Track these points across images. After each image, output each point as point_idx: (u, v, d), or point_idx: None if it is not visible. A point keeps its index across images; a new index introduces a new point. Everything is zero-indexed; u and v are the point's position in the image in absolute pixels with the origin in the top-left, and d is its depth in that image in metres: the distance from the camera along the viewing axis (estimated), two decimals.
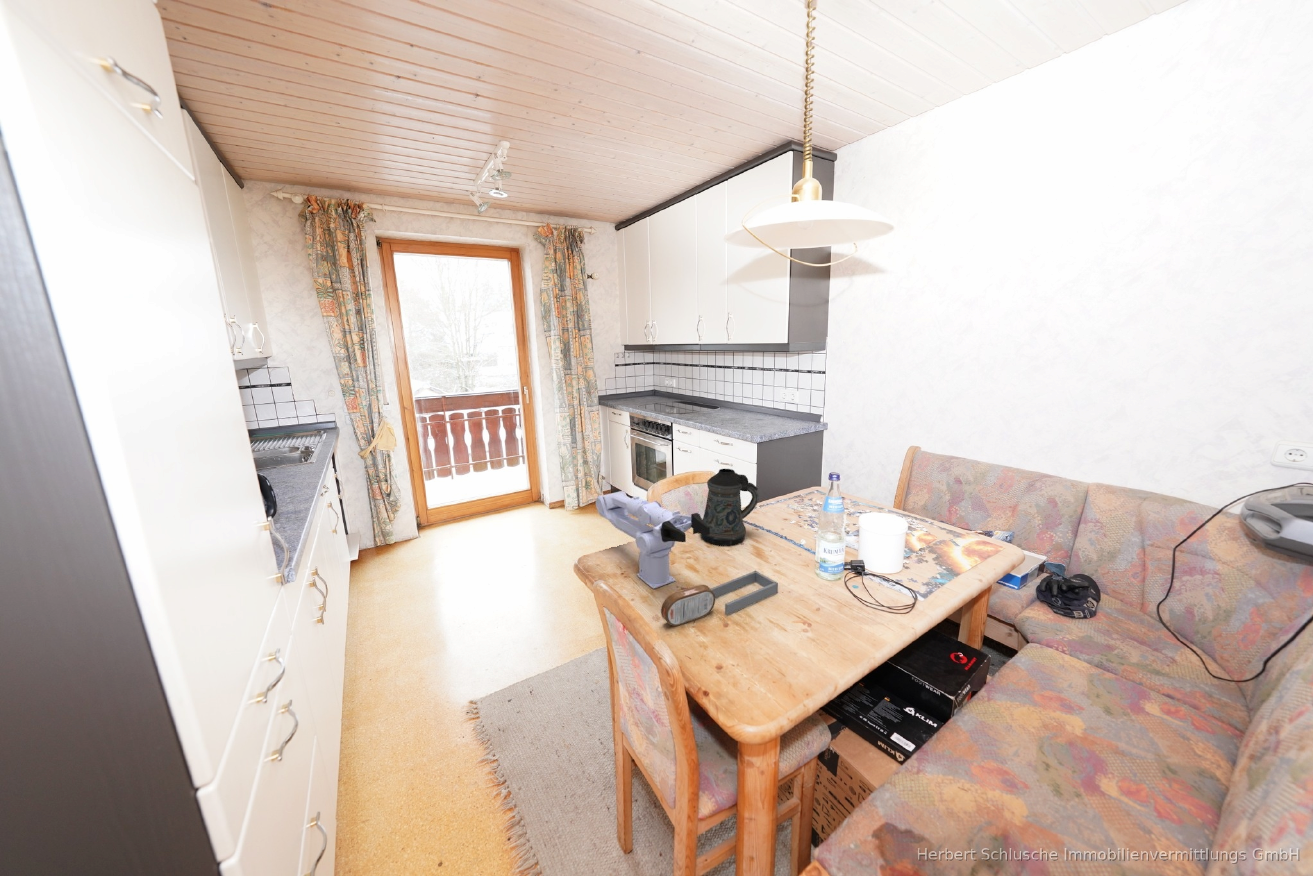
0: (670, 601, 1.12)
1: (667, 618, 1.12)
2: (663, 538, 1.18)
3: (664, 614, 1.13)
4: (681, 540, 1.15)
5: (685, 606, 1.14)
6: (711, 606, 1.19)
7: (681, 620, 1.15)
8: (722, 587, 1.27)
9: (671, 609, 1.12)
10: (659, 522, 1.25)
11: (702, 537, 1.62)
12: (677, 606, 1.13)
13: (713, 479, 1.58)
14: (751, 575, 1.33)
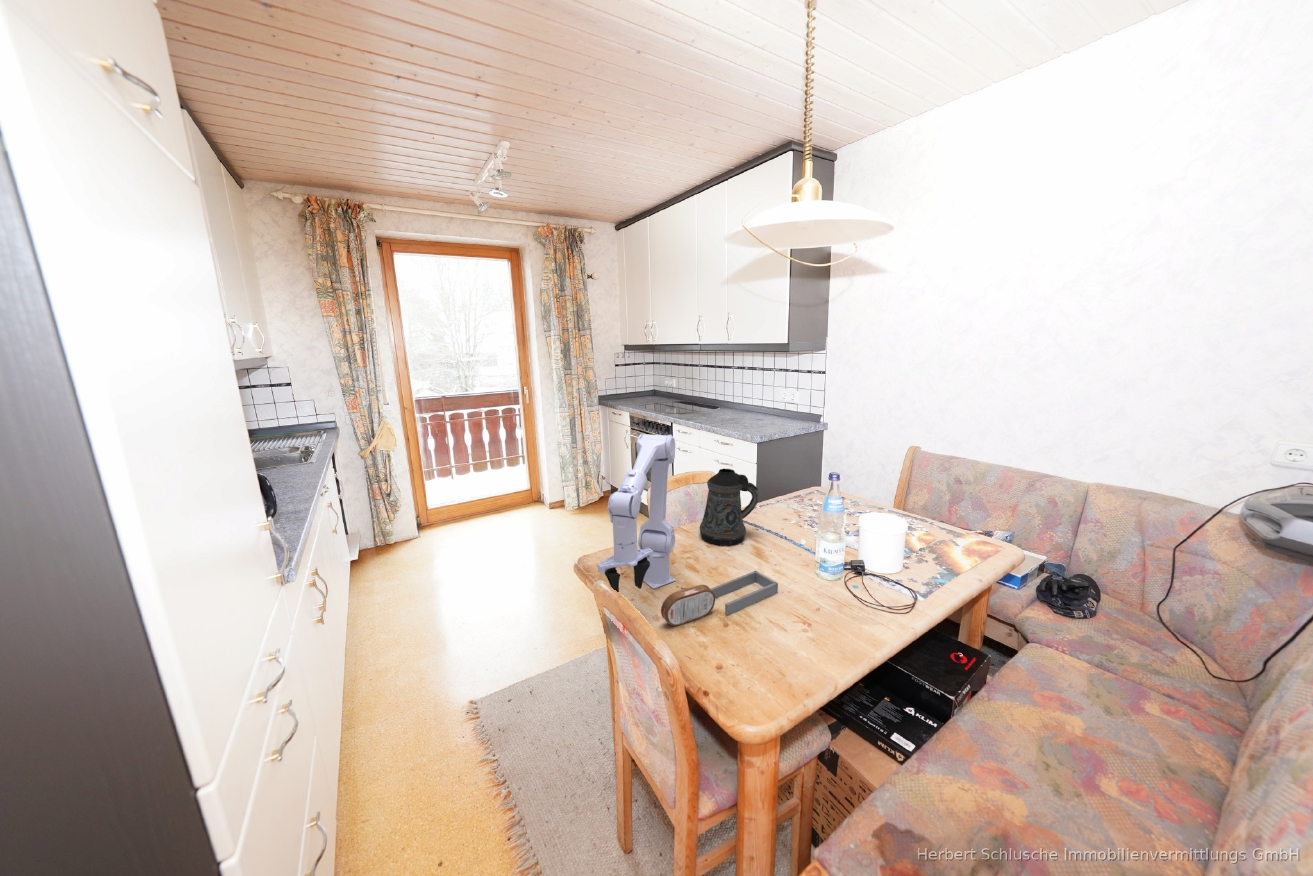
0: (670, 601, 1.12)
1: (667, 618, 1.12)
2: None
3: (664, 614, 1.13)
4: None
5: (685, 606, 1.14)
6: (711, 606, 1.19)
7: (681, 620, 1.15)
8: (722, 587, 1.27)
9: (671, 609, 1.12)
10: (615, 545, 1.09)
11: (702, 537, 1.62)
12: (677, 606, 1.13)
13: (713, 479, 1.58)
14: (751, 575, 1.33)
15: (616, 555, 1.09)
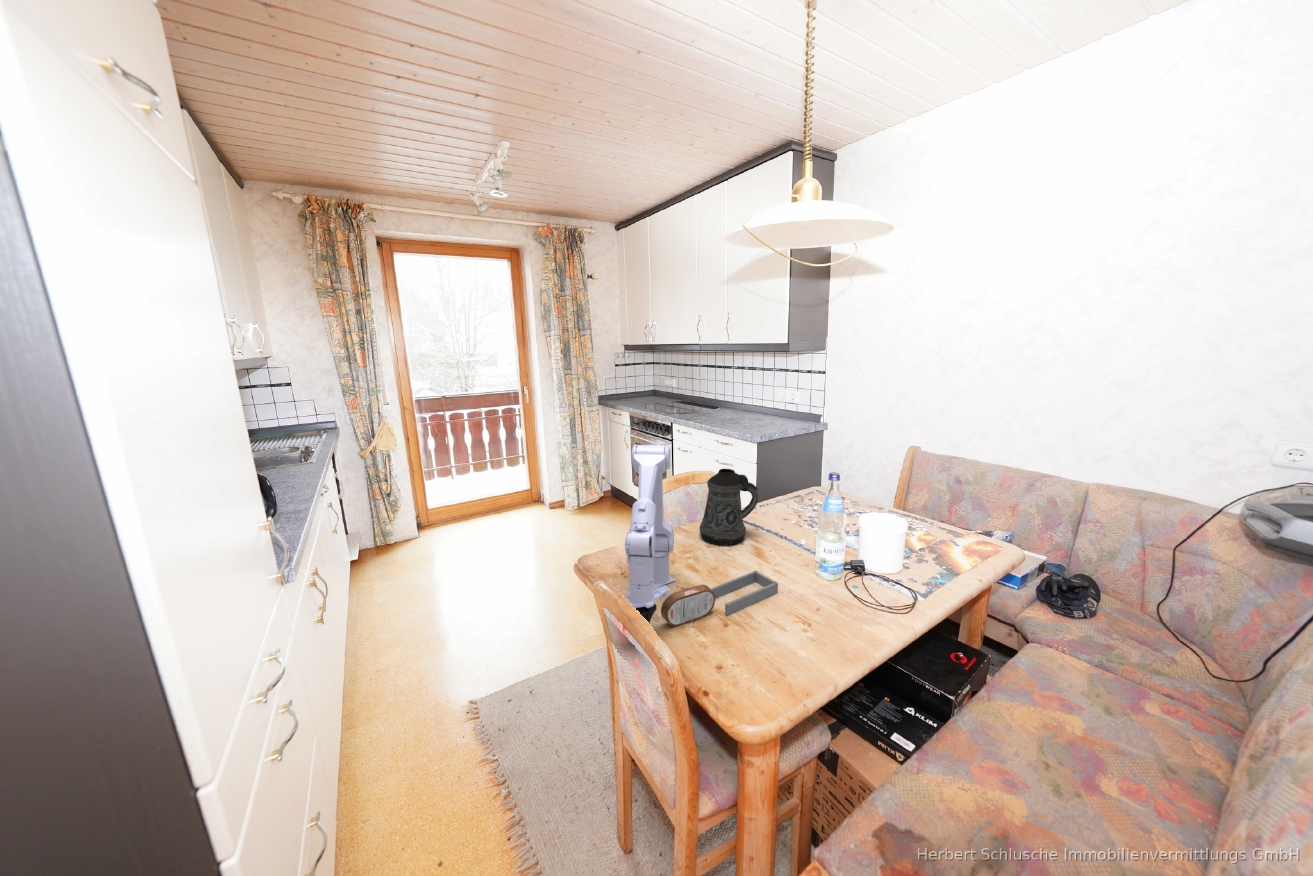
0: (670, 601, 1.12)
1: (667, 618, 1.12)
2: None
3: (664, 614, 1.13)
4: None
5: (684, 606, 1.14)
6: (711, 606, 1.19)
7: (681, 620, 1.15)
8: (722, 587, 1.27)
9: (671, 609, 1.12)
10: (631, 585, 1.05)
11: (702, 537, 1.62)
12: (677, 606, 1.13)
13: (713, 479, 1.58)
14: (751, 575, 1.33)
15: (632, 595, 1.05)
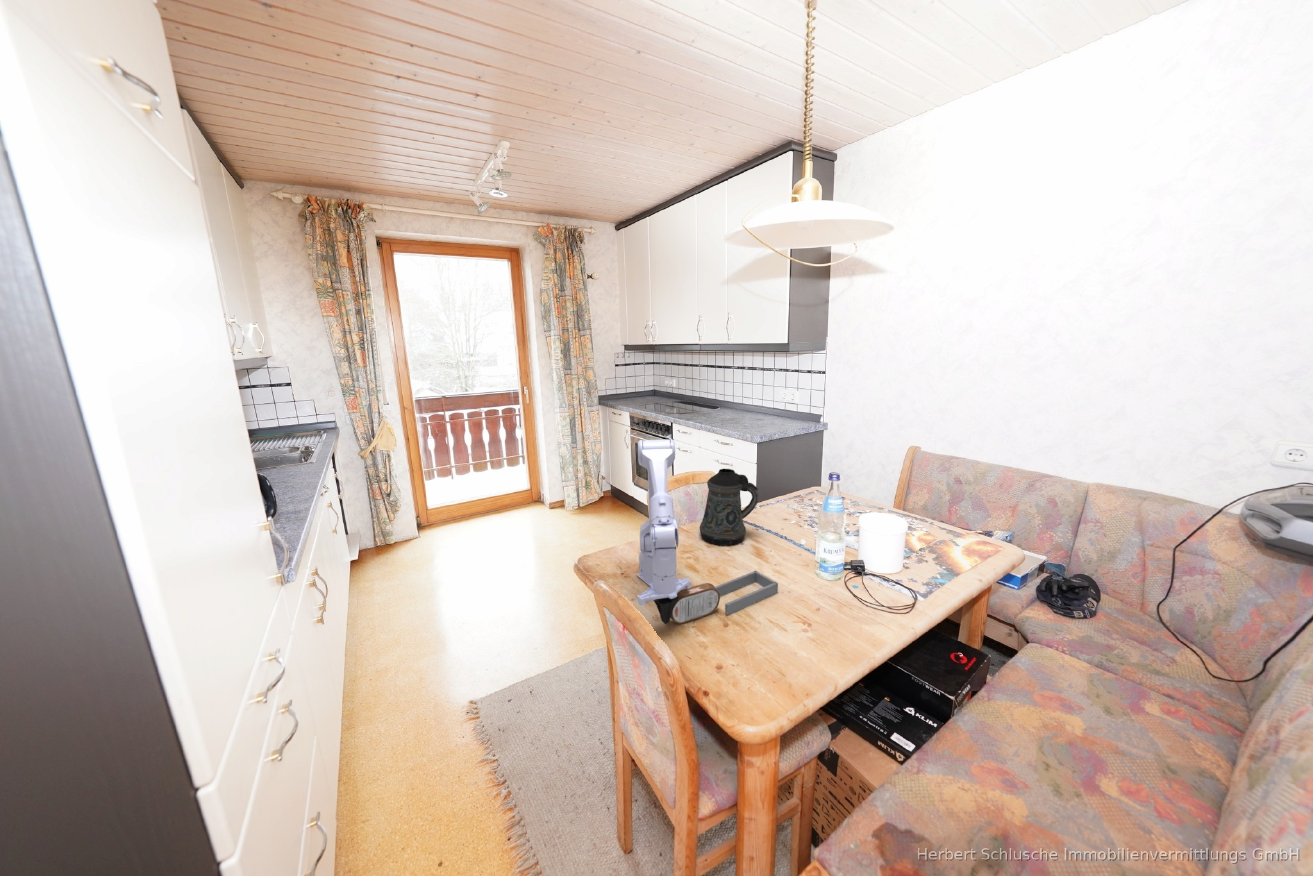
0: None
1: (672, 616, 1.13)
2: None
3: None
4: (661, 618, 1.13)
5: (689, 604, 1.15)
6: (716, 604, 1.19)
7: (686, 618, 1.16)
8: (722, 587, 1.27)
9: (676, 607, 1.13)
10: (655, 577, 1.08)
11: (702, 537, 1.62)
12: (682, 604, 1.14)
13: (713, 479, 1.58)
14: (751, 575, 1.33)
15: (656, 587, 1.09)
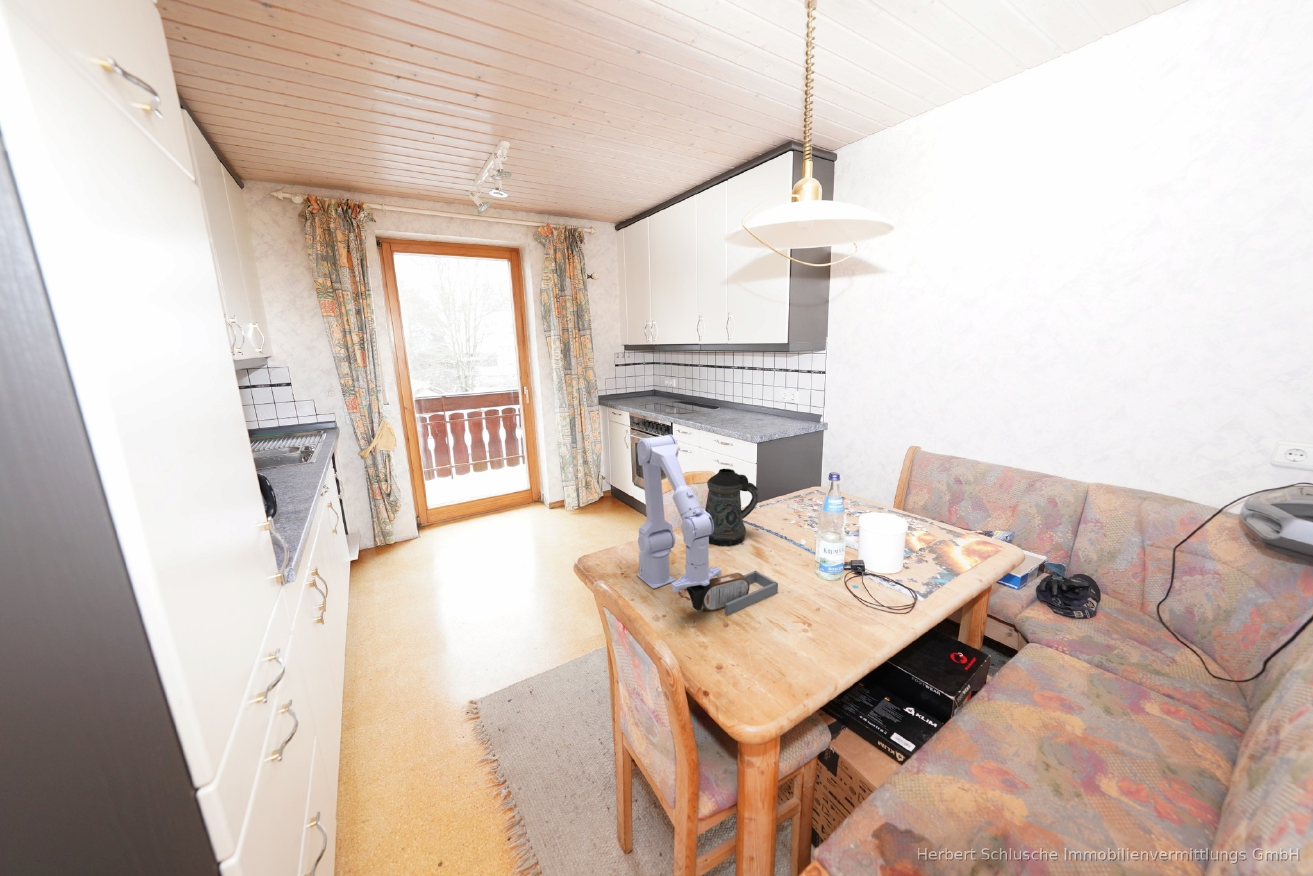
0: None
1: (703, 603, 1.18)
2: None
3: None
4: (693, 605, 1.18)
5: (720, 592, 1.20)
6: (745, 594, 1.24)
7: (716, 605, 1.21)
8: None
9: (707, 595, 1.18)
10: (688, 565, 1.13)
11: None
12: (713, 592, 1.19)
13: (713, 479, 1.58)
14: (751, 575, 1.33)
15: (689, 575, 1.14)
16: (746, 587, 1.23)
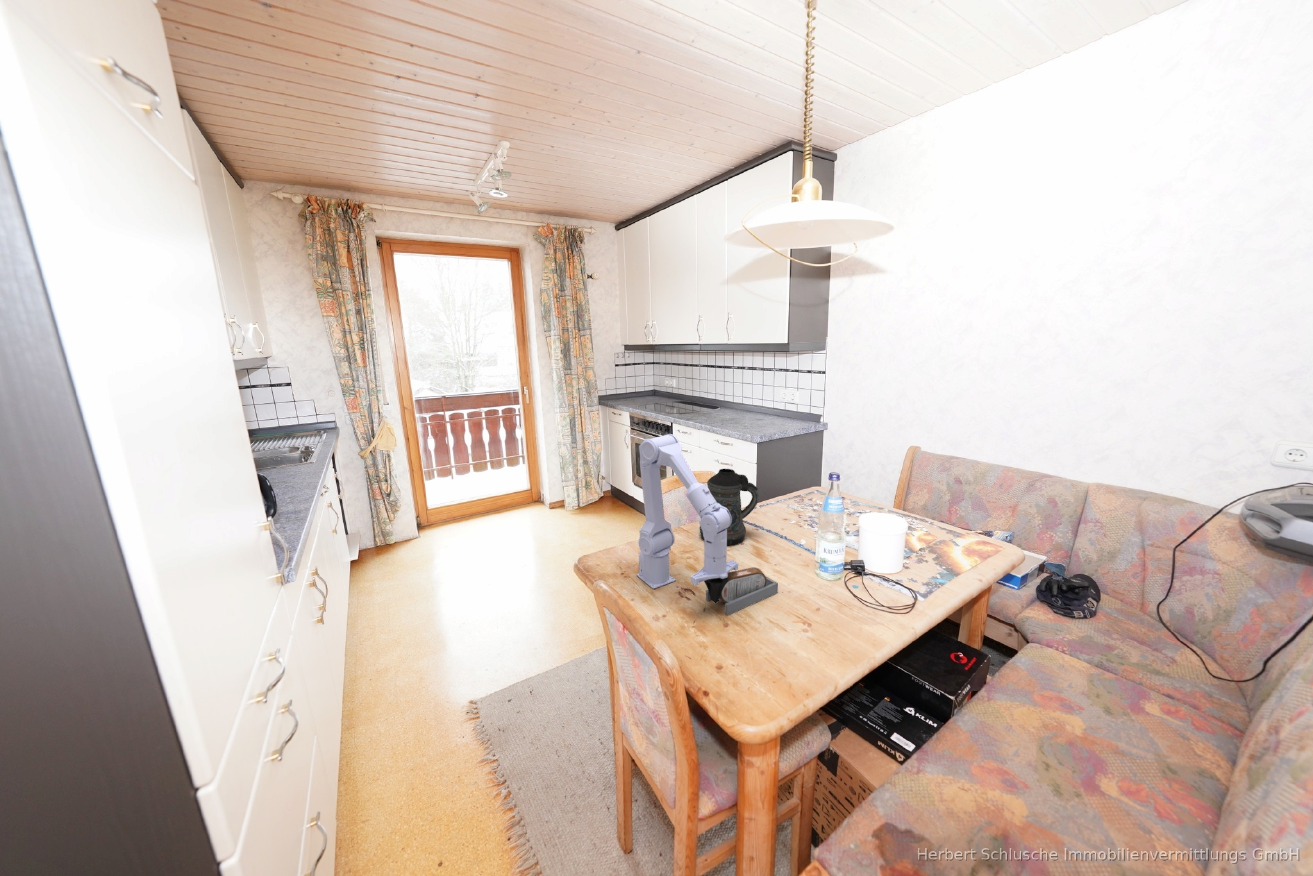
0: None
1: (721, 595, 1.22)
2: None
3: None
4: (710, 597, 1.21)
5: (737, 586, 1.23)
6: None
7: (734, 598, 1.24)
8: None
9: (725, 588, 1.21)
10: (707, 559, 1.17)
11: (702, 537, 1.62)
12: (730, 585, 1.22)
13: (713, 479, 1.58)
14: None
15: (708, 568, 1.17)
16: (763, 581, 1.26)
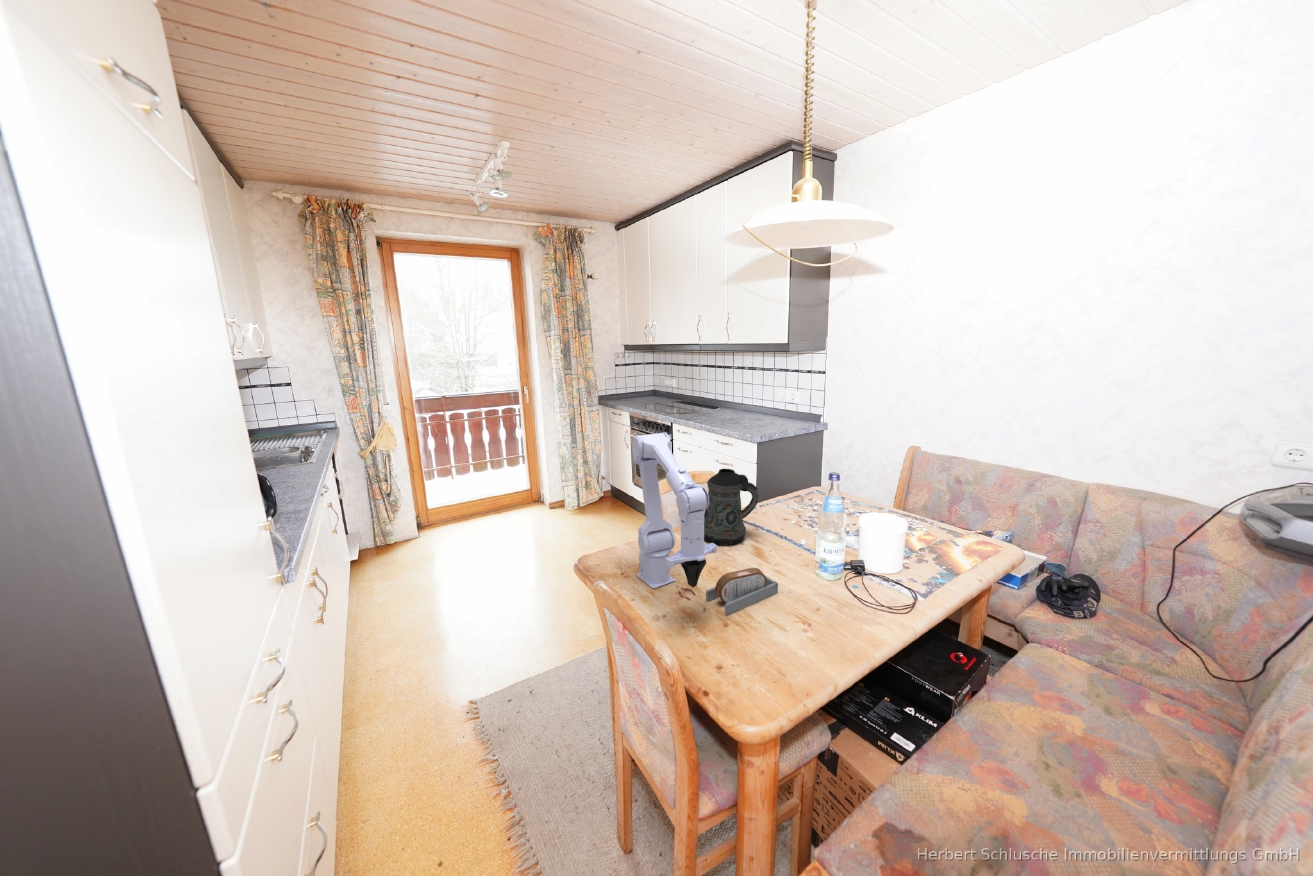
0: (724, 580, 1.21)
1: (721, 596, 1.22)
2: (680, 562, 1.14)
3: (718, 592, 1.22)
4: (688, 581, 1.16)
5: (737, 586, 1.23)
6: None
7: (734, 599, 1.24)
8: None
9: (725, 588, 1.22)
10: (684, 540, 1.11)
11: None
12: (730, 586, 1.22)
13: (713, 479, 1.58)
14: None
15: (684, 550, 1.11)
16: (763, 582, 1.26)
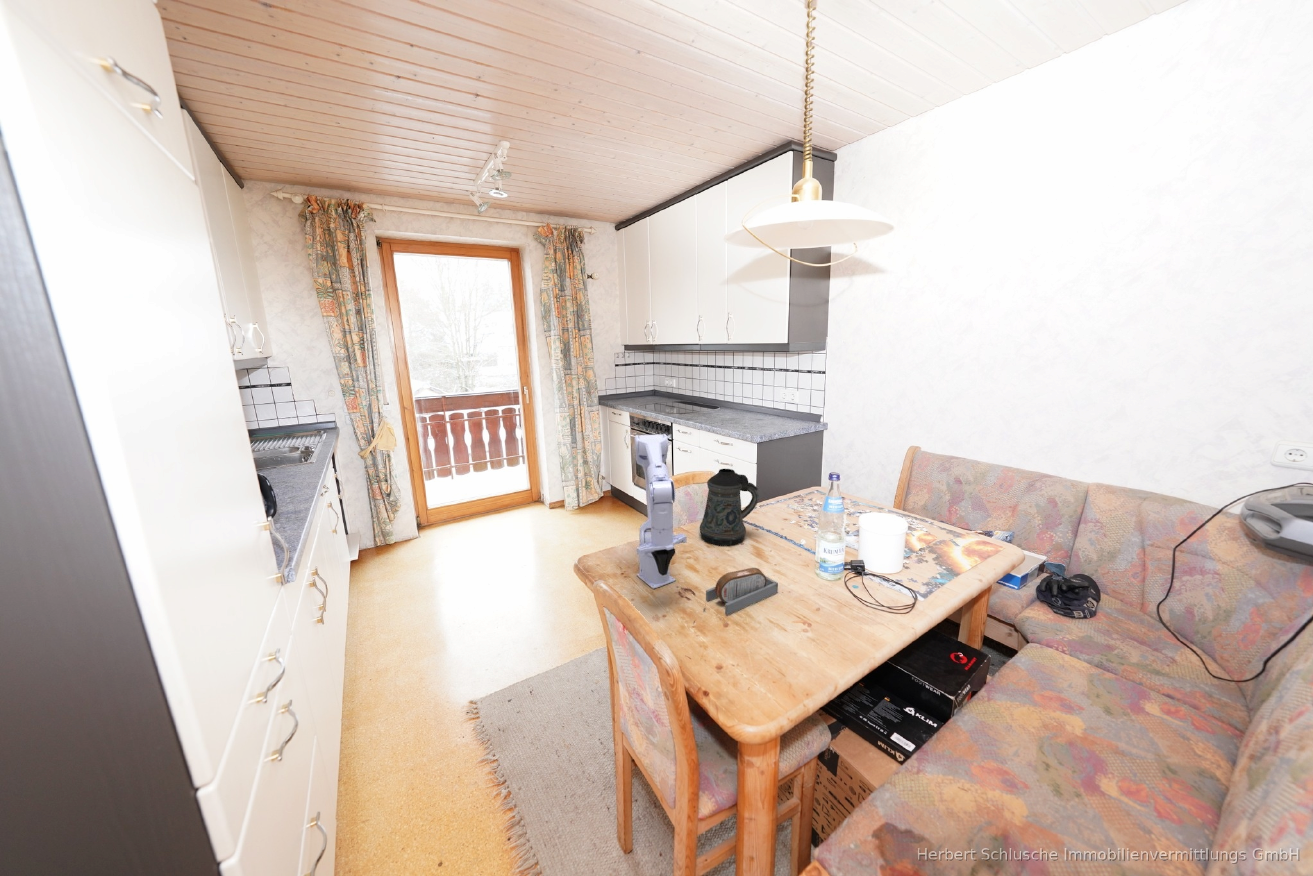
0: (724, 580, 1.21)
1: (721, 596, 1.22)
2: (651, 551, 1.20)
3: (718, 592, 1.22)
4: (658, 570, 1.21)
5: (737, 586, 1.23)
6: None
7: (734, 599, 1.24)
8: None
9: (725, 588, 1.22)
10: (653, 530, 1.17)
11: (702, 537, 1.62)
12: (730, 586, 1.22)
13: (713, 479, 1.58)
14: None
15: (654, 539, 1.17)
16: (763, 582, 1.26)
